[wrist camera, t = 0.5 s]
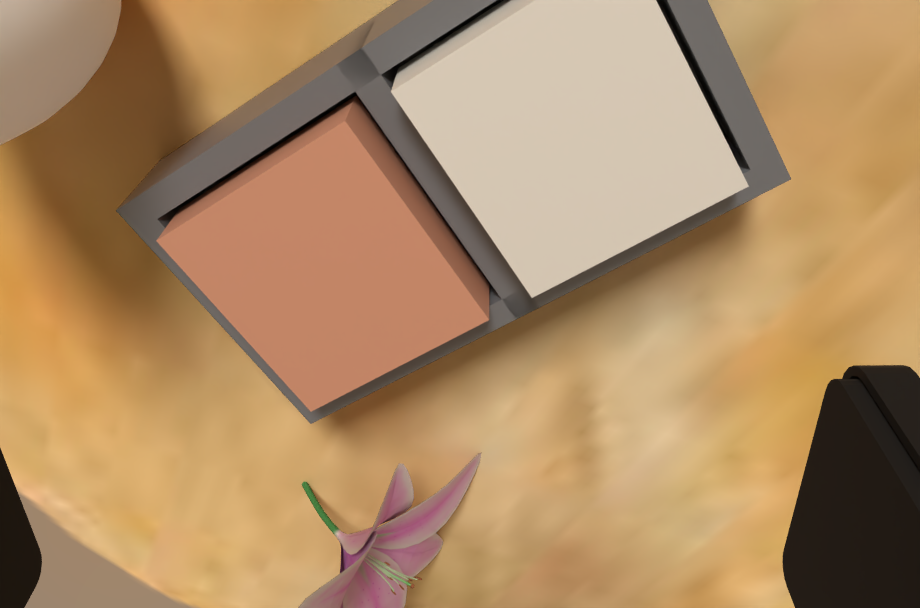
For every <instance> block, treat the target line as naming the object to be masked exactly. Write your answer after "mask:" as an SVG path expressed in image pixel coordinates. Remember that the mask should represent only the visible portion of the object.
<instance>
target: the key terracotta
mask: <svg viewBox="0 0 920 608" xmlns="http://www.w3.org/2000/svg"><path fill="white" fill-rule="evenodd" d="M156 241H157V242H158V243H159V245H160V246H161V247H162V248H163V249H164V250H165V251H166V252H167V253H168V254H169V256H170V257H171V258H172V259H173V260H174V261H175V262H176V263H177V264H178V266H179V267H180V268H181V269H182V270H183V271H184V272H185V273H186V274H187V275H188V277H189V278H190V279H191V280H192V281H193V282H194V283H195V284H196V285H197V287H198V288H199V289H200V290H201V291H202V292H203V293H204V294H205V295H206V296H207V298H208V299H209V300H210V301H211V302H212V303H213V304H214V305H215V306H216V307H217V309H218V310H219V311H220V312H221V313H222V314H223V315H224V316H225V317H226V319H227V320H228V321H229V322H230V323H231V324H232V325H233V326H234V327H235V328H236V330H237V331H238V332H239V333H240V334H241V335H242V336H243V337H244V338H245V340H246V341H247V342H248V343H249V344H250V345H251V346H252V347H253V348H254V349H255V351H256V352H257V353H258V354H259V355H260V356H261V357H262V358H263V359H264V361H265V362H266V363H267V364H268V365H269V366H270V367H271V368H272V369H273V370H274V372H275V373H276V374H277V375H278V376H279V377H280V378H281V379H282V380H283V382H284V383H285V384H286V385H287V386H288V387H289V388H290V389H291V390H292V391H293V393H294V394H295V395H296V396H297V397H298V398H299V399H300V400H301V401H302V402H303V404H304V405H305V406H306V407H307V408H308V409H309V410H310V411H311V412H312V411H313V410H315V409H317V408H319V407H321V406H323V405H325V404H327V403H329V402H331V401H333V400H335V399H337V398H339V397H341V396H343V395H345V394H346V393H348V392H350V391H352V390H354V389H356V388H358V387H360V386H362V385H364V384H366V383H368V382H370V381H372V380H374V379H376V378H378V377H380V376H381V375H383V374H385V373H387V372H389V371H391V370H393V369H395V368H397V367H399V366H401V365H403V364H405V363H407V362H409V361H411V360H413V359H414V358H416V357H418V356H420V355H422V354H424V353H426V352H428V351H430V350H432V349H434V348H436V347H438V346H440V345H442V344H444V343H446V342H447V341H449V340H451V339H453V338H455V337H457V336H459V335H461V334H463V333H465V332H467V331H469V330H471V329H473V328H475V327H477V326H479V325H481V324H482V323H484V322H486V321H488V320H489V283H488V281H487V280H486V279H485V277H484V276H483V274H482V273H481V271H480V270H479V269H478V267H477V266H476V264H475V263H474V262H473V260H472V259H471V257H470V256H469V254H468V253H467V252H466V250H465V249H464V247H463V246H462V245H461V243H460V242H459V240H458V239H457V237H456V236H455V235H454V233H453V232H452V230H451V229H450V228H449V226H448V225H447V223H446V222H445V220H444V219H443V218H442V216H441V215H440V213H439V212H438V211H437V209H436V208H435V206H434V205H433V203H432V202H431V201H430V199H429V198H428V196H427V195H426V194H425V192H424V191H423V189H422V188H421V186H420V185H419V184H418V182H417V181H416V179H415V178H414V177H413V175H412V174H411V172H410V171H409V170H408V168H407V167H406V165H405V164H404V162H403V161H402V160H401V158H400V157H399V155H398V154H397V153H396V151H395V150H394V148H393V147H392V145H391V144H390V143H389V141H388V140H387V138H386V137H385V136H384V134H383V133H382V131H381V130H380V128H379V127H378V126H377V124H376V123H375V121H374V120H373V119H372V117H371V116H370V114H369V113H368V111H367V110H366V109H365V107H364V106H363V104H362V103H361V102H360V100H359V99H358V97H357V96H354V97H353V98H351V99H349V100H348V101H346V102H345V103H343V104H342V105H340V106H339V107H337V108H335V109H334V110H332V111H331V112H329V113H328V114H326V115H325V116H323V117H321V118H320V119H318V120H317V121H315V122H314V123H312V124H311V125H309V126H307V127H306V128H304V129H303V130H301V131H300V132H298V133H297V134H295V135H293V136H292V137H290V138H289V139H287V140H286V141H284V142H283V143H281V144H279V145H278V146H276V147H275V148H273V149H272V150H270V151H269V152H267V153H265V154H264V155H262V156H261V157H259V158H258V159H256V160H255V161H253V162H251V163H250V164H248V165H247V166H245V167H244V168H242V169H241V170H239V171H237V172H236V173H234V174H233V175H231V176H230V177H228V178H227V179H225V180H223V181H222V182H220V183H219V184H217V185H216V186H214V187H213V188H211V189H209V190H208V191H206V192H205V193H203V194H202V195H200V196H199V197H197V198H195V199H194V200H192V201H191V202H189V203H188V204H186V205H185V206H183V207H181V208H180V209H179V210H178V212H177V213H176V214H175V216H174V217H173V218H172V220H171V221H170V222H169V224H168V225H167V227H166V228H165V229H164V231H163V232H162V233H161V235H160V236H159V238H158V239H157V240H156Z"/></svg>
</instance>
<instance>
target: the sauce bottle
mask: <svg viewBox="0 0 920 608" xmlns="http://www.w3.org/2000/svg"><path fill="white" fill-rule="evenodd" d="M120 13H121V0H0V145H1V144H3V143H5V142H8V141H10V140H12V139H14V138H16V137H18V136H19V135H21V134H23V133H25V132H27V131H29V130H31V129H33V128H34V127H36V126H38V125H40V124H41V123H43V122H45V121H46V120H47V119H49V118H50V117H51V116H53V115H54V114H55V113H56V112H58V111H59V110H60V109H61V108H62V107H63V106H65V105H66V104H67V103H68V102H69V101H71V100H72V99H73V98H74V97H75V96H76V95H77V94H78V93H79V92H80V91H81V90H82V89H83V88H84V87H85V85H86V84H87V83H88V81H89V80H90V79H91V78H92V76H93V75H94V74H95V72H96V71H97V70H98V68H99V67H100V65H101V64H102V63H103V61H104V59H105V57H106V54H107V52H108V50H109V48H110V46H111V44H112V42H113V40H114V37H115V34H116V31H117V26H118V22H119V17H120Z"/></svg>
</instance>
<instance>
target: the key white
mask: <svg viewBox="0 0 920 608" xmlns="http://www.w3.org/2000/svg"><path fill="white" fill-rule="evenodd" d="M391 93H392V94H393V96H394V97H395V99H396V100H397V101H398V103H399V104H400V106H401V107H402V109H403V110H404V112H405V113H406V115H407V116H408V118H409V119H410V120H411V122H412V123H413V125H414V126H415V128H416V129H417V131H418V132H419V134H420V135H421V137H422V138H423V139H424V141H425V142H426V144H427V145H428V147H429V148H430V150H431V151H432V153H433V154H434V156H435V157H436V159H437V160H438V161H439V163H440V164H441V166H442V167H443V169H444V170H445V172H446V173H447V175H448V176H449V178H450V179H451V180H452V182H453V183H454V185H455V186H456V188H457V189H458V191H459V192H460V194H461V195H462V197H463V198H464V199H465V201H466V202H467V204H468V205H469V207H470V208H471V210H472V211H473V213H474V214H475V216H476V217H477V218H478V220H479V221H480V223H481V224H482V226H483V227H484V229H485V230H486V232H487V233H488V235H489V236H490V237H491V239H492V240H493V242H494V243H495V245H496V246H497V248H498V249H499V251H500V252H501V254H502V255H503V256H504V258H505V259H506V261H507V262H508V264H509V265H510V267H511V268H512V270H513V271H514V273H515V274H516V275H517V277H518V278H519V280H520V281H521V283H522V284H523V286H524V287H525V289H526V290H527V292H528V293H529V294H530V296H531V297H532V298H533V297H535V296H537V295H539V294H541V293H543V292H545V291H547V290H549V289H550V288H552V287H554V286H556V285H558V284H560V283H562V282H564V281H566V280H568V279H570V278H572V277H574V276H576V275H578V274H580V273H582V272H583V271H585V270H587V269H589V268H591V267H593V266H595V265H597V264H599V263H601V262H603V261H605V260H607V259H609V258H611V257H613V256H615V255H616V254H618V253H620V252H622V251H624V250H626V249H628V248H630V247H632V246H634V245H636V244H638V243H640V242H642V241H644V240H646V239H648V238H650V237H651V236H653V235H655V234H657V233H659V232H661V231H663V230H665V229H667V228H669V227H671V226H673V225H675V224H677V223H679V222H681V221H683V220H684V219H686V218H688V217H690V216H692V215H694V214H696V213H698V212H700V211H702V210H704V209H706V208H708V207H710V206H712V205H714V204H716V203H718V202H719V201H721V200H723V199H725V198H727V197H729V196H731V195H733V194H735V193H737V192H739V191H741V190H743V189H745V188H747V187H749V186H748V184H747V182H746V180H745V178H744V176H743V174H742V172H741V170H740V168H739V166H738V164H737V162H736V160H735V158H734V155H733V153H732V151H731V149H730V147H729V145H728V143H727V141H726V139H725V137H724V135H723V133H722V131H721V129H720V127H719V125H718V123H717V121H716V119H715V117H714V115H713V113H712V111H711V109H710V107H709V105H708V103H707V101H706V99H705V97H704V95H703V93H702V91H701V89H700V87H699V85H698V83H697V81H696V79H695V77H694V75H693V73H692V71H691V69H690V67H689V65H688V63H687V61H686V59H685V57H684V55H683V53H682V51H681V49H680V47H679V45H678V43H677V41H676V39H675V37H674V35H673V33H672V31H671V29H670V27H669V25H668V23H667V21H666V19H665V17H664V15H663V13H662V11H661V9H660V7H659V5H658V3H657V1H656V0H503V1H502V2H500V3H499V4H497V5H496V6H494V7H492V8H491V9H489V10H488V11H486V12H485V13H483V14H482V15H480V16H478V17H477V18H475V19H474V20H472V21H471V22H469V23H468V24H466V25H464V26H463V27H461V28H460V29H458V30H457V31H455V32H454V33H452V34H450V35H449V36H447V37H446V38H444V39H443V40H441V41H440V42H438V43H436V44H435V45H433V46H432V47H430V48H429V49H427V50H426V51H424V52H422V53H421V54H419V55H418V56H416V57H415V58H413V59H412V60H410V61H408V62H407V63H405V64H404V65H402V66H401V67H399V68H398V71H397V74H396V77H395V80H394V83H393V87H392V90H391Z"/></svg>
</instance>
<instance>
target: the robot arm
mask: <svg viewBox="0 0 920 608" xmlns="http://www.w3.org/2000/svg"><path fill="white" fill-rule="evenodd" d="M41 558H42V557H41V552H40V548H39V546H38V543H37V541H36V539H35V536H34V533H33V531H32V528H31V525H30V523H29V520H28V518H27V515H26V513H25V510H24V508H23V505H22V502H21V500H20V497H19V495H18V492H17V490H16V487H15V484H14V482H13V479H12V477H11V474H10V472H9V469H8V467H7V464H6V461H5V459H4V456H3V454H2V451H1V449H0V608H24V607H25V605H26V604H27V602H28V600H29V598H30V596H31V594H32V592H33V591H34V589H35V587H36V585H37V582H38V580H39V577H40V573H41V565H42V559H41ZM783 572H784V577H785V582H786V585H787V588H788V590H789V593H790V595H791V598H792V601H793V603H794V606H795V608H920V378H919V376H918V375H917V374H916V372H915V371H913V370H912V369H911V368H910V367H908V366H904V365H879V366H852V367H849V368H848V369H847V370H846V372H845V373H844V375H843V378H842V379H834V380H831V381H830V382H829V384H828V386H827V388H826V391H825V395H824V399H823V402H822V406H821V410H820V414H819V418H818V421H817V425H816V429H815V433H814V437H813V440H812V444H811V448H810V452H809V456H808V460H807V463H806V467H805V471H804V475H803V479H802V482H801V486H800V490H799V494H798V498H797V501H796V505H795V509H794V513H793V517H792V521H791V524H790V528H789V532H788V536H787V540H786V543H785V547H784V552H783Z"/></svg>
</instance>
